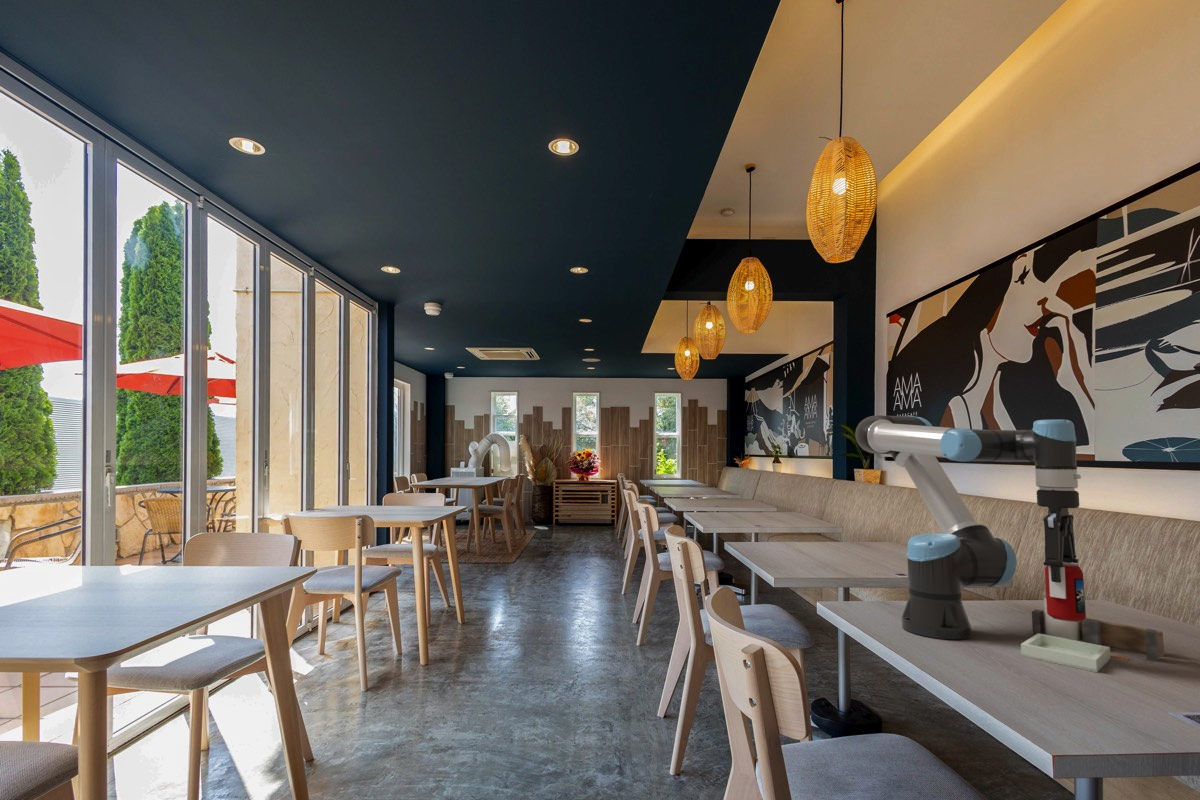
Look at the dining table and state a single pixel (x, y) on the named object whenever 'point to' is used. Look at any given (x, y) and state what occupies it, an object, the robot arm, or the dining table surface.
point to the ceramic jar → (1060, 626)
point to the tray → (1066, 652)
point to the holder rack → (1112, 636)
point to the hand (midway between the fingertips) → (1062, 594)
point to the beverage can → (1068, 596)
